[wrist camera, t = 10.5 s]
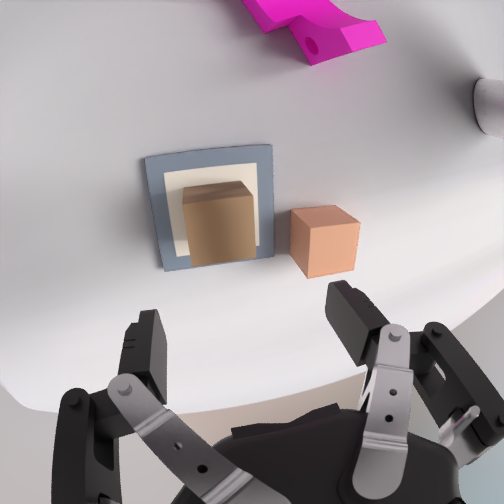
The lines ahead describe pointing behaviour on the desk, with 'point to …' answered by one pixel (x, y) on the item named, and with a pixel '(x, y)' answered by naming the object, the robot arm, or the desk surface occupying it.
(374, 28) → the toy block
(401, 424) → the robot arm
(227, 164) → the blue bordered cream board
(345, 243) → the terracotta cube
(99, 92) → the desk surface
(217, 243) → the walnut cube
